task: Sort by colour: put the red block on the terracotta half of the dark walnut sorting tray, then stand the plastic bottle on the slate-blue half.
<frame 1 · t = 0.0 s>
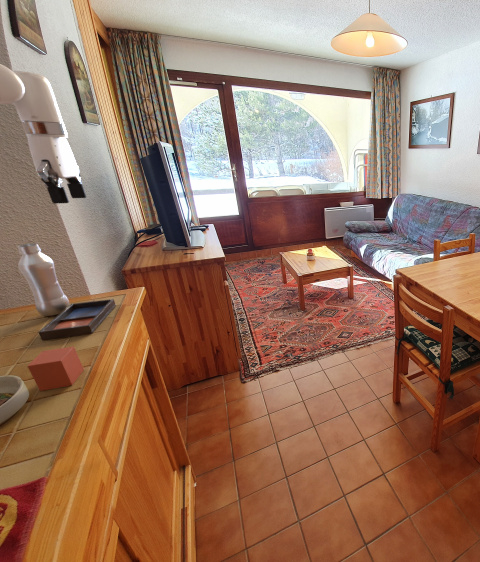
hand: (70, 200, 84), 30 cm above the worktop, tool pointing down, fingers open, 9 cm apart
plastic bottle: (57, 313, 88), on the worktop
red block: (63, 380, 63), on the worktop
sorting tray: (82, 321, 84), on the worktop
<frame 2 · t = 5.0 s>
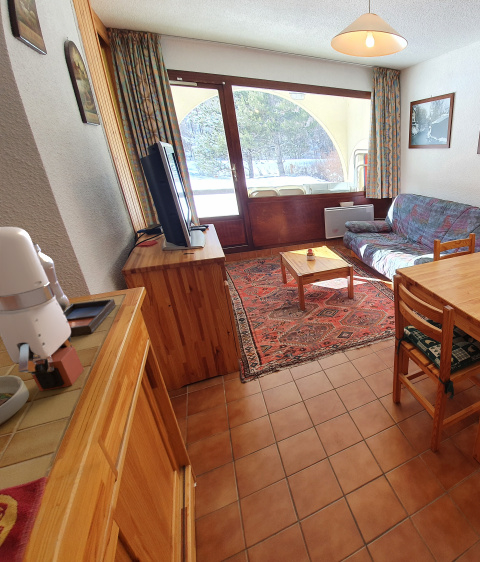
hand: (61, 376, 63), 1 cm above the worktop, tool pointing down, fingers closed on red block, 5 cm apart
red block: (63, 380, 63), on the worktop, touching gripper
everything else where it was.
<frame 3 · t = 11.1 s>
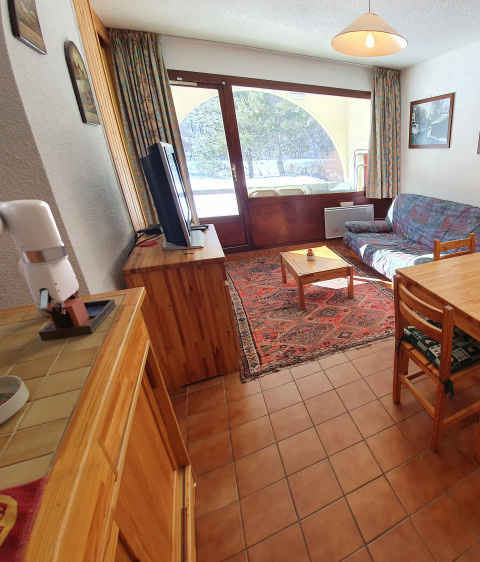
hand: (71, 321, 79), 2 cm above the worktop, tool pointing down, fingers closed on red block, 5 cm apart
red block: (72, 323, 80), point 2 cm above the worktop, touching gripper
everything else where it was.
when the fingers open (3 cm above the worktop, at t = 15.9 s): red block stays where it is, resting on sorting tray.
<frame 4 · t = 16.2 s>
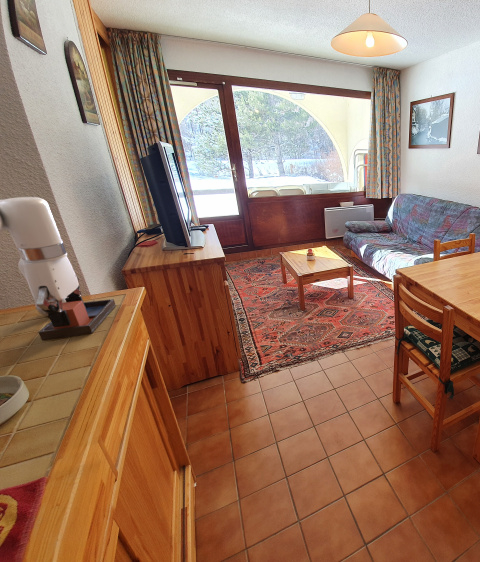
hand: (70, 317, 79), 3 cm above the worktop, tool pointing down, fingers open, 7 cm apart
red block: (73, 326, 80), point 1 cm above the worktop, touching sorting tray
everything else where it was.
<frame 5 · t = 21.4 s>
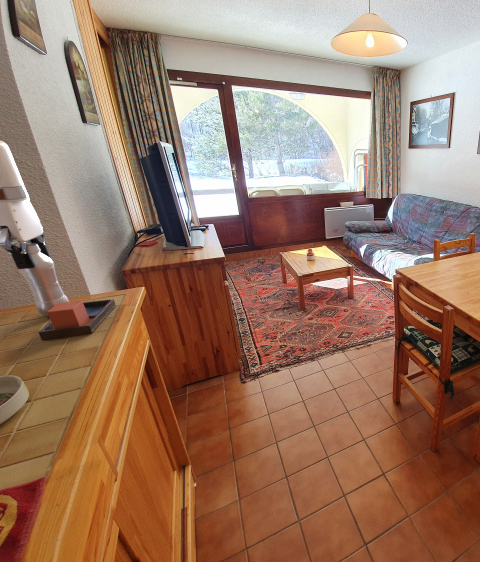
hand: (35, 263, 82), 15 cm above the worktop, tool pointing down, fingers closed on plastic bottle, 6 cm apart
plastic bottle: (57, 313, 88), on the worktop, touching gripper
everything else where it was.
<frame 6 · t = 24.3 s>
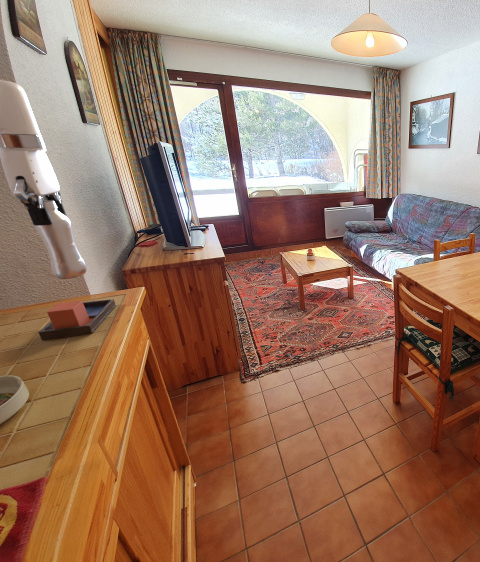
hand: (51, 221, 77), 27 cm above the worktop, tool pointing down, fingers closed on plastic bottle, 6 cm apart
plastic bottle: (73, 277, 83), point 11 cm above the worktop, touching gripper
everything else where it was.
when the fingers open (16 cm above the worktop, at t = 27.2 s): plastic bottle stays where it is, resting on sorting tray.
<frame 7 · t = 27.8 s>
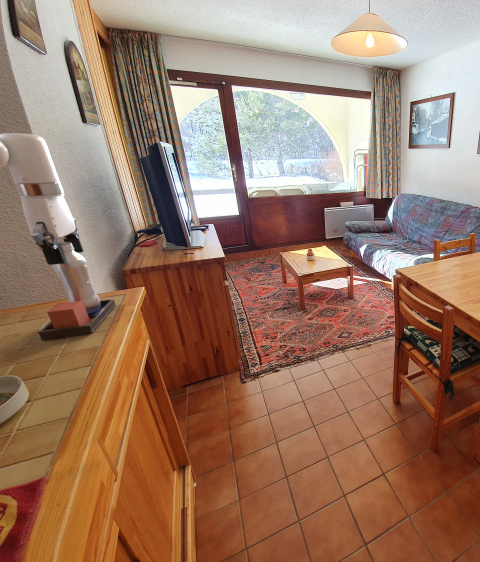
hand: (67, 257, 81), 17 cm above the worktop, tool pointing down, fingers open, 9 cm apart
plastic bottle: (88, 313, 87), point 1 cm above the worktop, touching sorting tray
everything else where it was.
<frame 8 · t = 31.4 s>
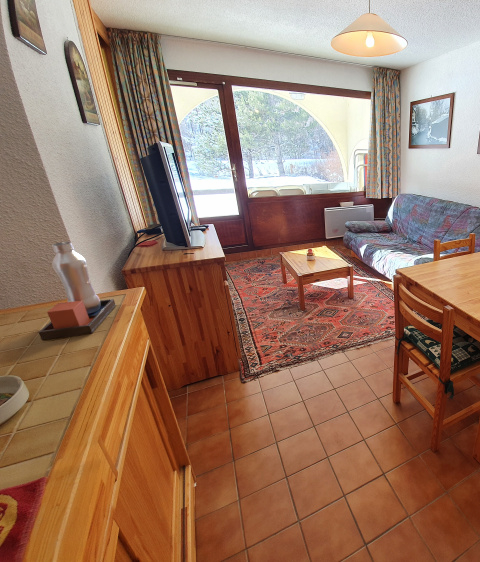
nothing on the worktop moved.
at the end: red block inside the target area on the sorting tray (0.2 cm from its centre), point 0.8 cm above the sorting tray's base; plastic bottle inside the target area on the sorting tray (0.0 cm from its centre), point 0.6 cm above the sorting tray's base; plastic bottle tilted 0° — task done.
